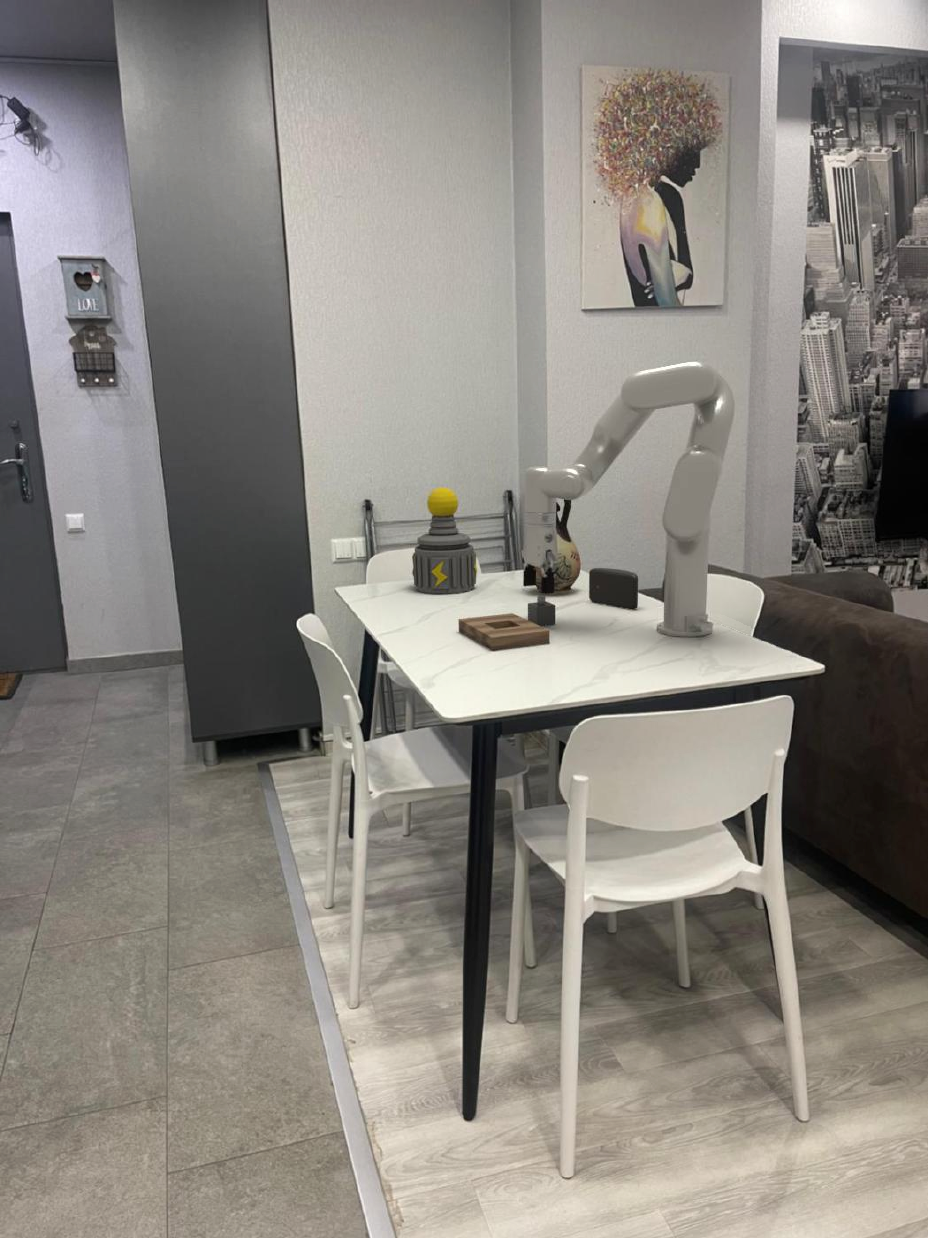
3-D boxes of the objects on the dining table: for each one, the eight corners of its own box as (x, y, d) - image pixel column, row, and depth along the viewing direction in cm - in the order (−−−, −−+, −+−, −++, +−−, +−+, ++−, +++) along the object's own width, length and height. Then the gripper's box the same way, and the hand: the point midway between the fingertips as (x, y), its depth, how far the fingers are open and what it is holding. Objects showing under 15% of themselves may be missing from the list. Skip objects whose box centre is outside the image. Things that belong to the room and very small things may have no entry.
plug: (555, 625, 217) (555, 596, 215) (536, 627, 215) (536, 599, 214) (546, 621, 221) (545, 593, 220) (527, 623, 220) (527, 595, 218)
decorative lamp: (408, 595, 258) (404, 490, 251) (419, 582, 276) (416, 485, 269) (472, 595, 255) (470, 489, 248) (480, 582, 273) (478, 484, 267)
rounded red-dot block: (645, 608, 233) (646, 572, 230) (634, 611, 230) (635, 575, 228) (598, 599, 245) (599, 565, 243) (587, 602, 242) (587, 567, 240)
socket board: (549, 643, 199) (549, 630, 199) (492, 650, 194) (491, 637, 194) (512, 625, 218) (512, 613, 217) (458, 631, 213) (458, 619, 212)
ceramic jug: (515, 593, 256) (514, 488, 249) (548, 585, 267) (548, 484, 260) (563, 600, 245) (563, 490, 238) (595, 591, 256) (596, 486, 249)
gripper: (571, 522, 206) (568, 595, 210) (538, 514, 222) (536, 582, 226) (542, 524, 203) (540, 597, 207) (510, 515, 219) (509, 584, 223)
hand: (538, 589), depth 217 cm, fingers open, 9 cm apart
